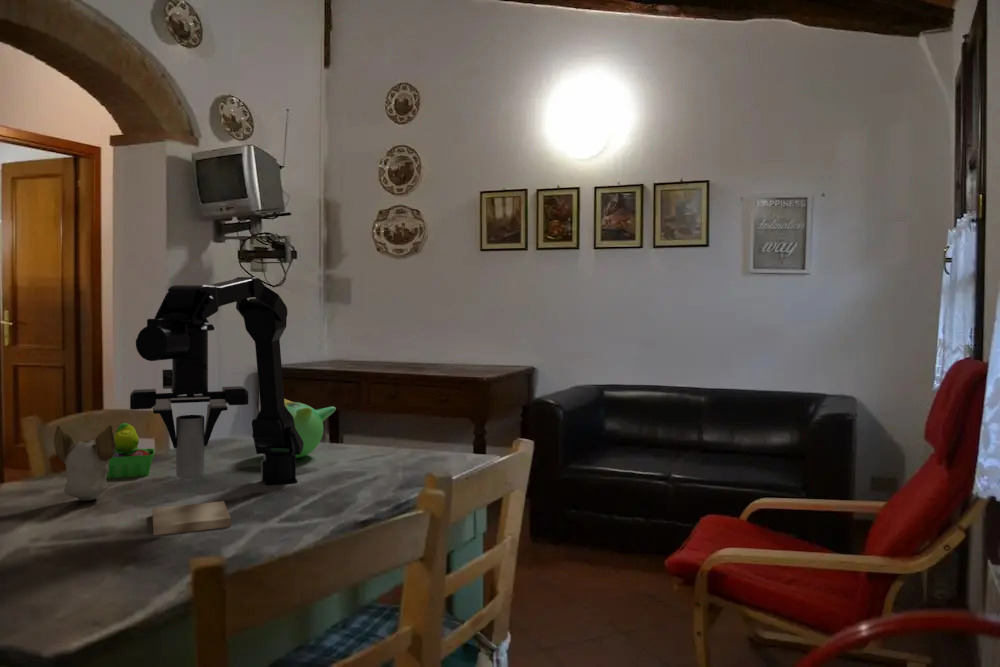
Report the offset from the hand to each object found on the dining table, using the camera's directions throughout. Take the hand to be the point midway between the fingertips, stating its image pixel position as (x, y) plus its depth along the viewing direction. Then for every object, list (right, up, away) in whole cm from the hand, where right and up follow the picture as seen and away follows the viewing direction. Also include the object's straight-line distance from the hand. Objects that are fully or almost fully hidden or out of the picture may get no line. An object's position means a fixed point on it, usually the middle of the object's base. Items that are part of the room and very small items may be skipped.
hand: (190, 446), depth 130 cm
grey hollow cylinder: (0, -5, 0) cm, 5 cm away
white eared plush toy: (-24, -13, +12) cm, 30 cm away
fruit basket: (-28, -12, +35) cm, 46 cm away
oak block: (0, -14, 0) cm, 14 cm away
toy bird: (+2, -11, +55) cm, 56 cm away
